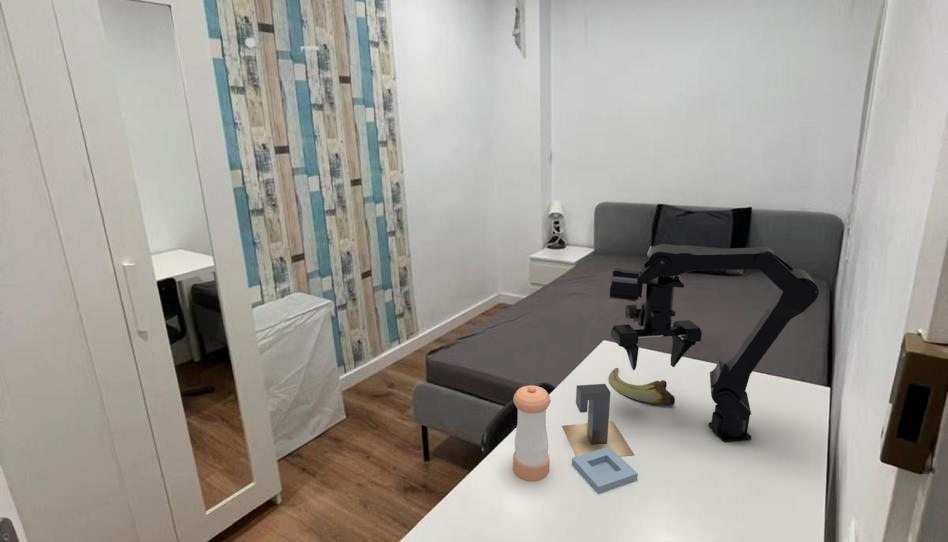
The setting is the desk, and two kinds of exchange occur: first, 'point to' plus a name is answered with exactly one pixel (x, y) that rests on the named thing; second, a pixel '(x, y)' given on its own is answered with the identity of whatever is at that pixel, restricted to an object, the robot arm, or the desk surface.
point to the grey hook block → (595, 410)
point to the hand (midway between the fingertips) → (652, 367)
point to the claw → (642, 390)
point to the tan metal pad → (583, 445)
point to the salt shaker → (531, 434)
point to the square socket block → (604, 469)
